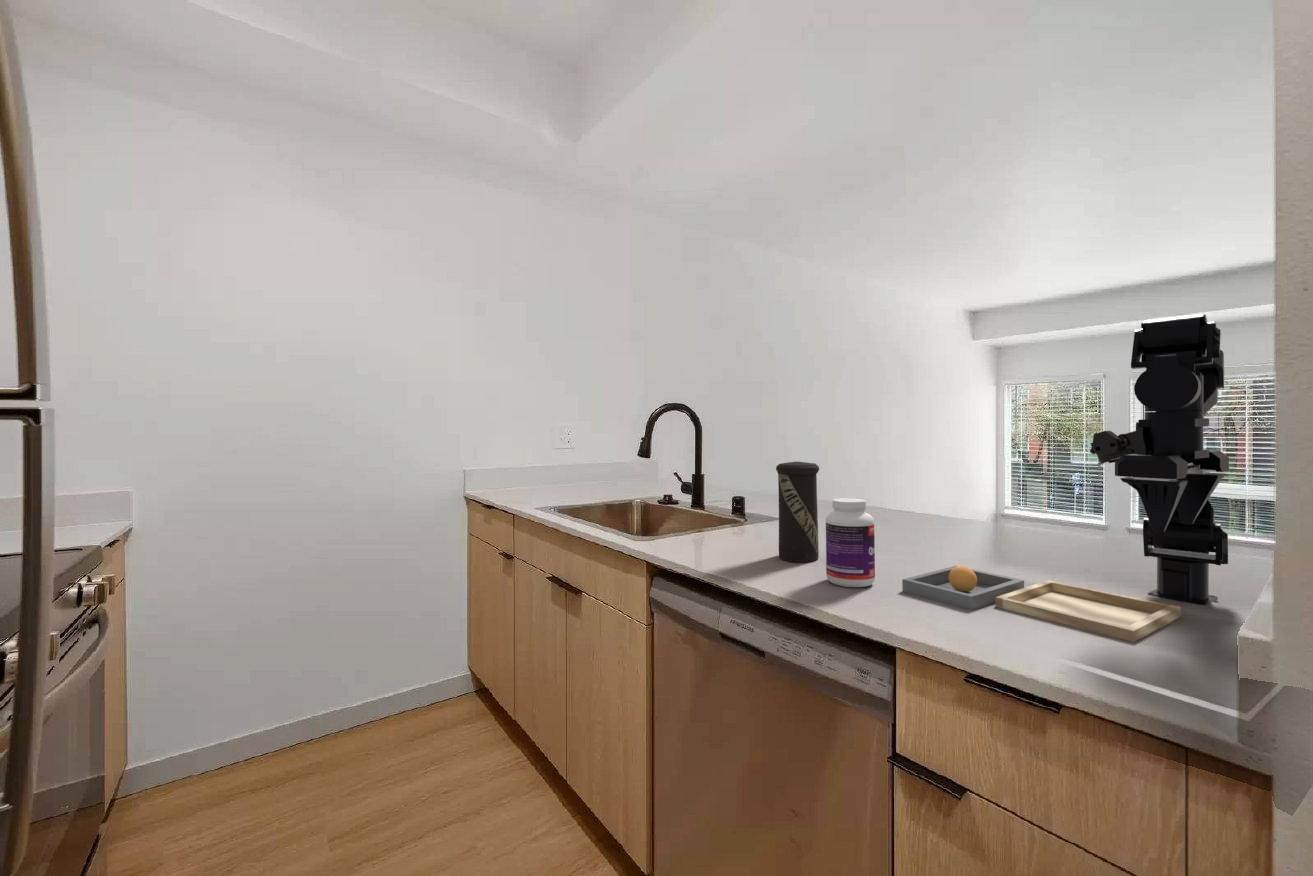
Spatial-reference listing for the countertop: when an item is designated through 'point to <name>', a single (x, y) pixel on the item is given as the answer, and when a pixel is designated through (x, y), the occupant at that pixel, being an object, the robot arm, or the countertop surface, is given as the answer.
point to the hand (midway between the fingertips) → (1173, 527)
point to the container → (798, 511)
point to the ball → (962, 579)
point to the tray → (941, 590)
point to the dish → (1090, 609)
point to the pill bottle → (850, 544)
